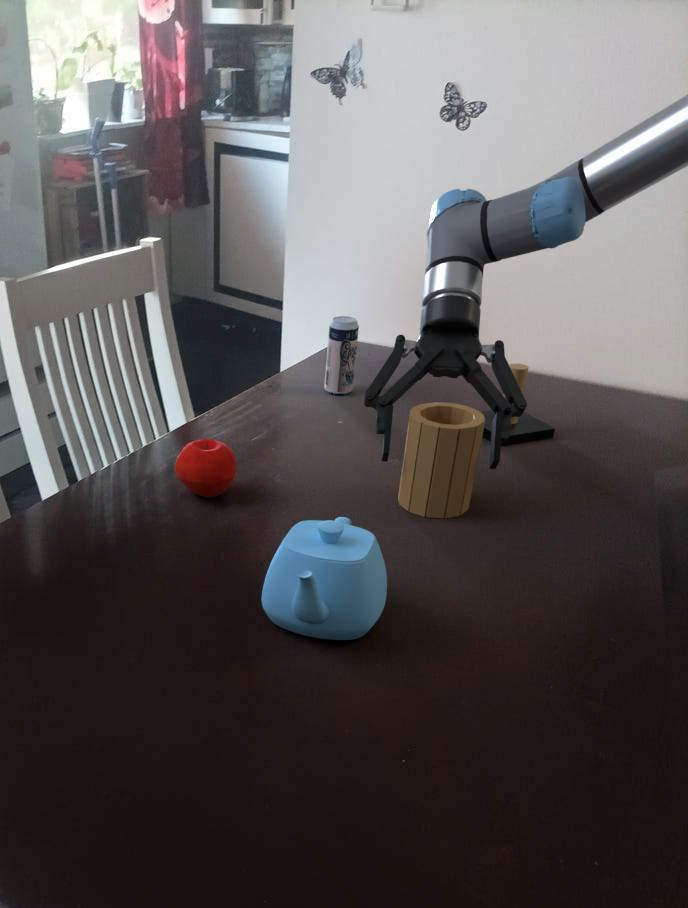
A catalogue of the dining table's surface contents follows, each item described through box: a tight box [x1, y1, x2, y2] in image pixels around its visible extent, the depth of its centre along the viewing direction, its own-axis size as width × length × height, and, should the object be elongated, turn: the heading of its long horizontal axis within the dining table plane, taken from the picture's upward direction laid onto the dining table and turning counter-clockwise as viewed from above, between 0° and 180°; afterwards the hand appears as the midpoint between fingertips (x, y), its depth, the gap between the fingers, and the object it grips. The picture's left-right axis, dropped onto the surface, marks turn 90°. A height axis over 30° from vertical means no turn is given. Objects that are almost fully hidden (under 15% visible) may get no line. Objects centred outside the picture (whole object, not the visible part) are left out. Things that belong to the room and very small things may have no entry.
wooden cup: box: [397, 401, 485, 520], centre depth 115 cm, size 9×9×12 cm
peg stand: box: [480, 363, 556, 447], centre depth 137 cm, size 10×10×10 cm
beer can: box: [323, 315, 360, 395], centre depth 151 cm, size 5×5×12 cm
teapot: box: [260, 516, 388, 641], centre depth 92 cm, size 13×11×18 cm
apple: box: [174, 438, 237, 498], centre depth 118 cm, size 8×8×7 cm
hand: (439, 461), depth 114 cm, fingers open, 13 cm apart
